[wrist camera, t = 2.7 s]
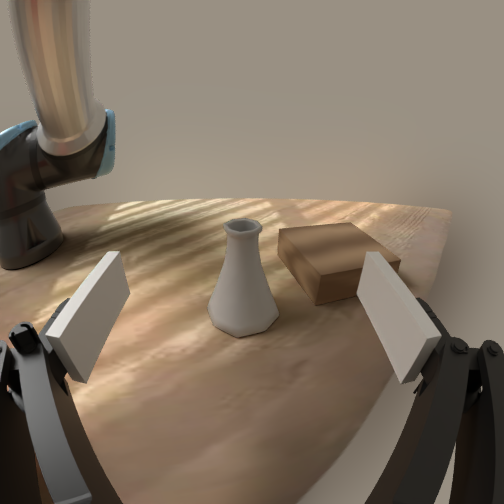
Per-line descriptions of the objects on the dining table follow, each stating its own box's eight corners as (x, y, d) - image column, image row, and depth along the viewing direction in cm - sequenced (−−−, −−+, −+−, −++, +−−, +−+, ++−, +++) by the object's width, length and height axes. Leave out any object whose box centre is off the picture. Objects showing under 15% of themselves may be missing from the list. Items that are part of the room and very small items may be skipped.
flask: (195, 308, 29) (186, 221, 24) (249, 285, 33) (250, 205, 28) (234, 349, 24) (231, 253, 19) (291, 317, 28) (302, 228, 23)
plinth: (277, 254, 40) (279, 228, 38) (346, 245, 43) (350, 222, 41) (315, 305, 30) (320, 275, 28) (392, 286, 33) (401, 259, 31)
